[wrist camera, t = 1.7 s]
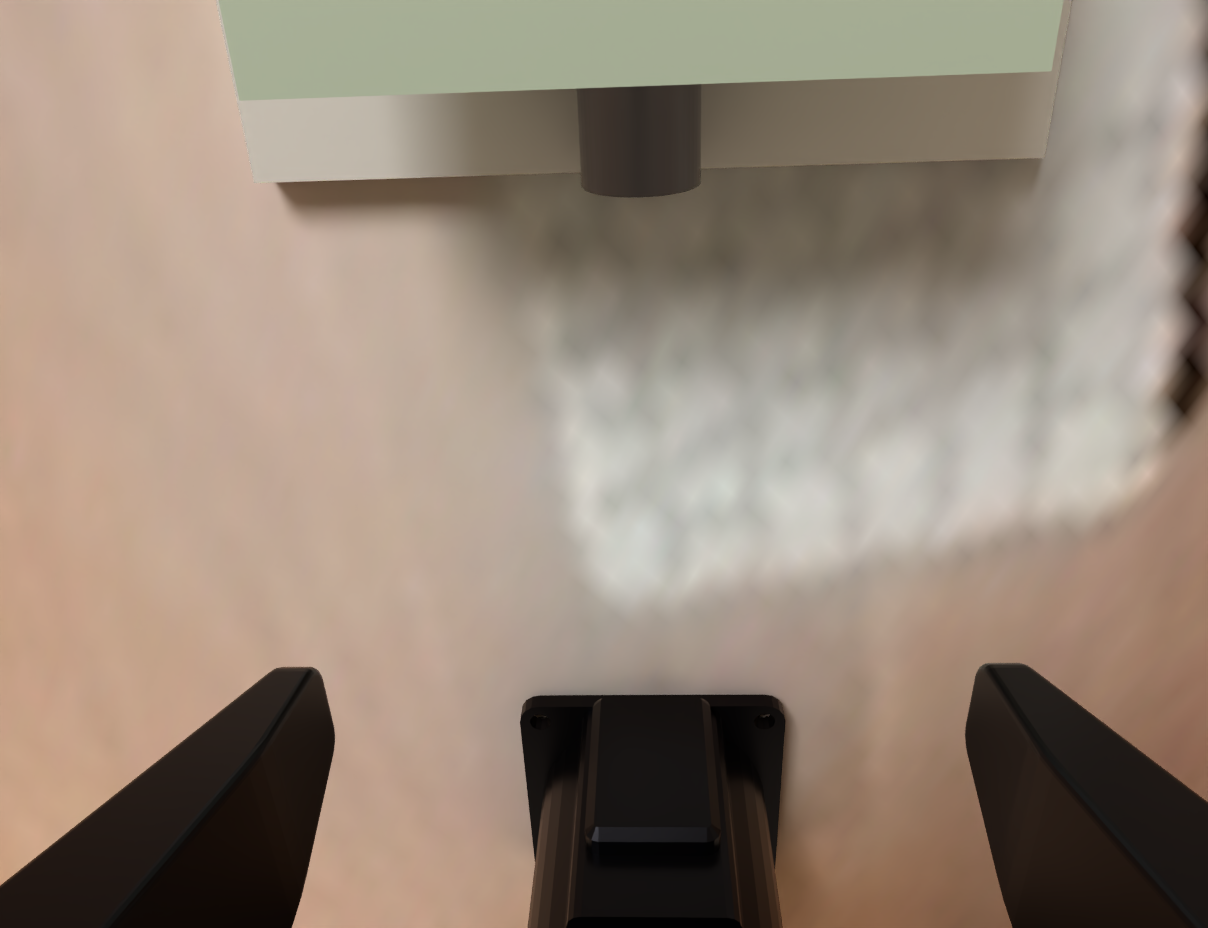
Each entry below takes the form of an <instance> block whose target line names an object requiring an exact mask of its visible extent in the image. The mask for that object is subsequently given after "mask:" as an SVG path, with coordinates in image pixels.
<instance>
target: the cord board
mask: <svg viewBox="0 0 1208 928" xmlns="http://www.w3.org/2000/svg"><path fill="white" fill-rule="evenodd" d="M216 3H217V8H218V13H219V18H220V23H221V27H222V32H223V37H224V42H225V46H226V51H227V56H228V61H229V65H230V70H231V75H232V80H233V85H234V89H235V94H236V99H237V104H238V108H239V113H240V118H241V123H242V127H243V132H244V137H245V142H246V147H247V151H248V156H249V161H250V166H251V170H252V175H253V180H254V183H271V182H303V181H334V180H366V179H397V178H429V177H461V176H492V175H524V174H555V173H581V186H582V188H583V189H584V190H585V191H588V192H590V193H594V194H598V195H604V196H613V197H653V196H663V195H671V194H676V193H681V192H685V191H688V190H691V189H694V188H696V187H697V186H699V185H700V180H701V169H713V168H745V167H777V166H808V165H840V164H871V163H903V162H935V161H966V160H998V159H1029V158H1044V157H1045V151H1046V146H1047V140H1048V134H1049V129H1050V123H1051V117H1052V112H1053V106H1054V100H1055V95H1056V89H1057V83H1058V78H1059V72H1060V66H1061V61H1062V55H1063V49H1064V44H1065V38H1066V32H1067V27H1068V21H1069V15H1070V10H1071V4H1072V0H1064V1H1063V7H1062V12H1061V18H1060V24H1059V30H1058V36H1057V41H1056V47H1055V53H1054V59H1053V65H1052V70H1051V71H1048V72H1020V73H993V74H965V75H937V76H910V77H882V78H854V79H827V80H799V81H771V82H744V83H716V84H688V85H661V86H633V87H605V88H577V89H550V90H522V91H494V92H467V93H439V94H411V95H384V96H356V97H328V98H301V99H273V100H245V101H239V96H238V91H237V87H236V82H235V77H234V72H233V67H232V63H231V58H230V53H229V48H228V43H227V39H226V34H225V29H224V24H223V19H222V15H221V10H220V5H219V0H216Z"/></svg>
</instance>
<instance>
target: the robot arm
mask: <svg viewBox="0 0 1208 928" xmlns="http://www.w3.org/2000/svg"><path fill="white" fill-rule="evenodd" d="M538 714H541V715H545V716H547V717H548V718H543V719H542V718H537V717H536V716H534V715H538ZM761 714H769V715H770V716H768V717H765V718H760V717H757V716H758V715H761ZM520 726H521V735H522V744H523V754H524V763H525V772H526V782H527V791H528V800H529V810H530V819H531V828H532V837H533V847H534V856H535V870H534V878H533V887H532V895H531V904H530V912H529V921H528V928H783V926H782V919H781V912H780V904H779V897H778V890H777V883H776V876H775V861H776V846H777V832H778V818H779V803H780V789H781V775H782V760H783V746H784V732H785V718H784V712H783V707H782V704H781V702H780V701H779V700H778V699H776V698H775V697H773V696H769V695H558V696H534V697H531V698H530V699H528V700H526V702H525V703H524V704H523V707H522V713H521V720H520ZM965 739H966V748H967V754H968V758H969V762H970V766H971V770H972V774H973V778H974V783H975V787H976V791H977V795H978V799H979V803H980V807H981V811H982V816H983V820H984V824H985V828H986V832H987V836H988V840H989V844H990V849H991V853H992V857H993V861H994V865H995V869H996V873H997V877H998V881H999V885H1000V889H1001V892H1002V896H1003V900H1004V903H1005V906H1006V909H1007V912H1008V915H1009V918H1010V921H1011V924H1012V927H1013V928H1208V802H1207V801H1206V800H1204V799H1203V798H1202V797H1200V796H1199V795H1198V794H1196V793H1195V792H1194V791H1192V790H1191V789H1190V788H1188V787H1187V786H1186V785H1184V784H1183V783H1182V782H1181V781H1179V780H1178V779H1177V778H1175V777H1174V776H1173V775H1171V774H1170V773H1169V772H1167V771H1166V770H1165V769H1163V768H1162V767H1161V766H1159V765H1158V764H1157V763H1156V762H1154V761H1153V760H1152V759H1150V758H1149V757H1148V756H1146V755H1145V754H1144V753H1142V752H1141V751H1140V750H1138V749H1137V748H1136V747H1134V746H1133V745H1132V744H1131V743H1129V742H1128V741H1127V740H1125V739H1124V738H1123V737H1121V736H1120V735H1119V734H1117V733H1116V732H1115V731H1113V730H1112V729H1111V728H1109V727H1108V726H1107V725H1106V724H1104V723H1103V722H1102V721H1100V720H1099V719H1098V718H1096V717H1095V716H1094V715H1092V714H1091V713H1090V712H1088V711H1087V710H1086V709H1084V708H1083V707H1082V706H1081V705H1079V704H1078V703H1077V702H1075V701H1074V700H1073V699H1071V698H1070V697H1069V696H1067V695H1066V694H1065V693H1063V692H1062V691H1061V690H1059V689H1058V688H1057V687H1056V686H1054V685H1053V684H1052V683H1050V682H1049V681H1048V680H1046V679H1045V678H1044V677H1042V676H1041V675H1040V674H1038V673H1037V672H1036V671H1034V670H1033V669H1032V668H1030V667H1029V666H1027V665H1025V664H1020V663H987V664H984V665H982V666H981V667H979V669H978V671H977V673H976V676H975V681H974V686H973V691H972V697H971V702H970V707H969V712H968V717H967V722H966V730H965ZM334 745H335V732H334V725H333V721H332V717H331V712H330V708H329V704H328V700H327V695H326V691H325V687H324V683H323V679H322V676H321V674H320V673H319V671H318V670H317V669H315V668H313V667H281V668H276V669H274V670H272V671H271V672H269V673H268V674H267V675H266V676H264V677H263V678H262V679H261V680H259V681H258V682H257V683H255V684H254V685H253V686H252V687H250V688H249V689H248V690H247V691H245V692H244V693H243V694H242V695H240V696H239V697H238V698H237V699H235V700H234V701H233V702H231V703H230V704H229V705H228V706H226V707H225V708H224V709H223V710H221V711H220V712H219V713H218V714H216V715H215V716H214V717H213V718H211V719H210V720H209V721H208V722H206V723H205V724H204V725H202V726H201V727H200V728H199V729H197V730H196V731H195V732H194V733H192V734H191V735H190V736H189V737H187V738H186V739H185V740H184V741H182V742H181V743H180V744H178V745H177V746H176V747H175V748H173V749H172V750H171V751H170V752H168V753H167V754H166V755H165V756H163V757H162V758H161V759H160V760H158V761H157V762H156V763H154V764H153V765H152V766H151V767H149V768H148V769H147V770H146V771H144V772H143V773H142V774H141V775H139V776H138V777H137V778H136V779H134V780H133V781H132V782H130V783H129V784H128V785H127V786H125V787H124V788H123V789H122V790H120V791H119V792H118V793H117V794H115V795H114V796H113V797H112V798H110V799H109V800H108V801H106V802H105V803H104V804H103V805H101V806H100V807H99V808H98V809H96V810H95V811H94V812H93V813H91V814H90V815H89V816H88V817H86V818H85V819H84V820H82V821H81V822H80V823H79V824H77V825H76V826H75V827H74V828H72V829H71V830H70V831H69V832H67V833H66V834H65V835H64V836H62V837H61V838H60V839H58V840H57V841H56V842H55V843H53V844H52V845H51V846H50V847H48V848H47V849H46V850H45V851H43V852H42V853H41V854H40V855H38V856H37V857H36V858H34V859H33V860H32V861H31V862H29V863H28V864H27V865H26V866H24V867H23V868H22V869H21V870H19V871H18V872H17V873H16V874H14V875H13V876H12V877H10V878H9V879H8V880H7V881H5V882H4V883H3V884H2V885H0V928H292V925H293V922H294V919H295V915H296V912H297V909H298V906H299V902H300V899H301V896H302V892H303V888H304V884H305V880H306V876H307V871H308V867H309V862H310V858H311V853H312V849H313V844H314V839H315V835H316V830H317V826H318V821H319V817H320V812H321V808H322V803H323V798H324V794H325V789H326V785H327V780H328V776H329V771H330V767H331V762H332V757H333V753H334Z"/></svg>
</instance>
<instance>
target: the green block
mask: <svg viewBox="0 0 1208 928" xmlns="http://www.w3.org/2000/svg"><path fill="white" fill-rule="evenodd" d="M1063 1H1064V0H219V5H220V10H221V15H222V19H223V24H224V29H225V34H226V39H227V43H228V48H229V53H230V58H231V63H232V67H233V72H234V77H235V82H236V87H237V91H238V96H239V101H245V100H273V99H301V98H328V97H356V96H384V95H411V94H439V93H467V92H494V91H522V90H550V89H577V88H605V87H633V86H661V85H688V84H716V83H744V82H771V81H799V80H827V79H854V78H882V77H910V76H937V75H965V74H993V73H1020V72H1048V71H1051V70H1052V65H1053V59H1054V53H1055V47H1056V41H1057V36H1058V30H1059V24H1060V18H1061V12H1062V7H1063Z"/></svg>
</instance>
